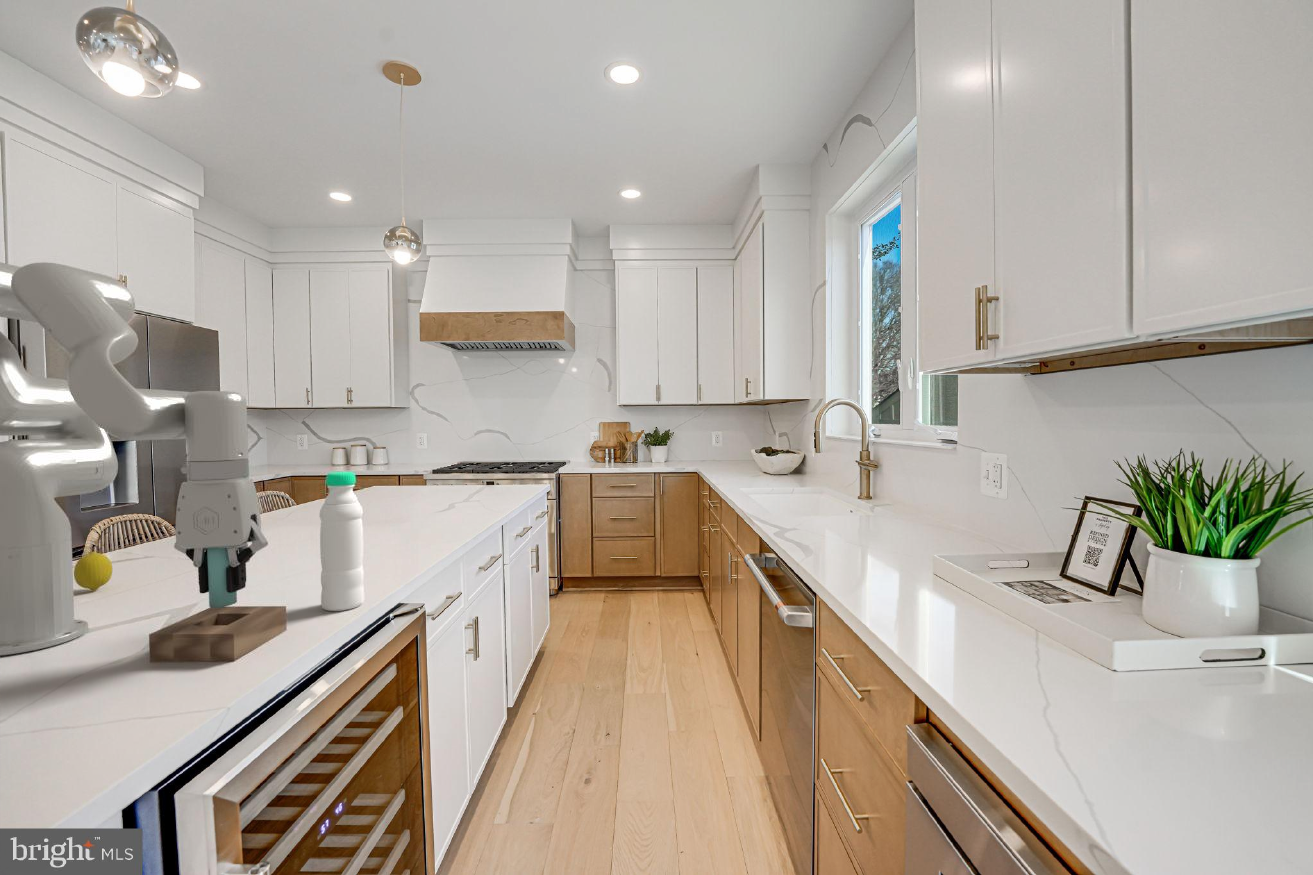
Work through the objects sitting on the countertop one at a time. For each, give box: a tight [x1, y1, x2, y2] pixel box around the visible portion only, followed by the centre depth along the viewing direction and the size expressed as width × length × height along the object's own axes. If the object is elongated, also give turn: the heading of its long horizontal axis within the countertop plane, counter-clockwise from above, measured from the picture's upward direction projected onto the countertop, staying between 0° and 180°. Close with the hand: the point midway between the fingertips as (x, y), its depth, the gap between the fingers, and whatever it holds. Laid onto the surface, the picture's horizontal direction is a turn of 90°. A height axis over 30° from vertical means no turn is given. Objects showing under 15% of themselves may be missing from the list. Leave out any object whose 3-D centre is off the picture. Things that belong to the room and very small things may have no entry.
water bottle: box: [319, 471, 365, 612], centre depth 106 cm, size 7×7×25 cm
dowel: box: [207, 548, 238, 608], centre depth 87 cm, size 3×3×11 cm
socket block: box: [148, 605, 287, 663], centre depth 88 cm, size 12×12×4 cm
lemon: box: [73, 551, 113, 592], centre depth 115 cm, size 6×6×8 cm
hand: (223, 589), depth 88 cm, fingers closed on dowel, 3 cm apart
